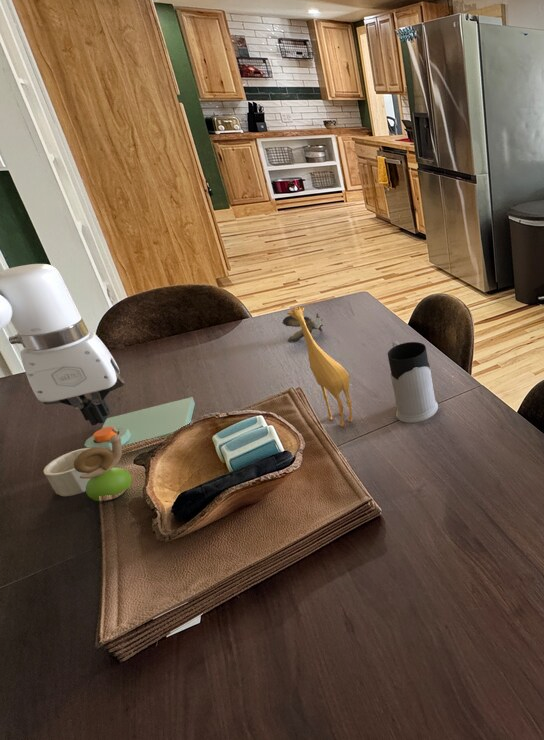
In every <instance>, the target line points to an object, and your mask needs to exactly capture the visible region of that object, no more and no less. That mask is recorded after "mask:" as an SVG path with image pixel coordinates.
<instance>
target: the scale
mask: <svg viewBox="0 0 544 740" xmlns="http://www.w3.org/2000/svg"><path fill="white" fill-rule="evenodd" d="M195 406H196V403H195V400H194V397H193V396H190V397H187V398H182V399H178V400H173V401H170V402H167V403H162V404H158V405H155V406H151V407H147V408H142V409H138V410H134V411H131V412H126V413H123V414H118V415H115V416H111V417H107V418H106V420H105V422H104V423H103V425H102V427H101V429H103V428H106V427H115V428H116V430H118V432H117V433H118V435H120V436H121V437H120V438H121V447H122V446H124V445H128V444H131V443H135V442H139V441H142V440H146V439H152V438H159V437H165V436H167V435H169V434H171V433H173V432H174V431H176V430H178V429H180V428H181V427H183V426H185V425H187V424H189V423H190V422H191V423H192V419H193V413H194V409H195ZM191 423H190V424H191ZM84 442H85V443H83V445H84V448H94V447H106V448H108V449H110V450H112V444H111V443H110V441H106V442H102V443H97V442H96V441H95V439H94V437H93V435H91V436H90V437H89V438H87V439H86V440H85V441H84Z"/></svg>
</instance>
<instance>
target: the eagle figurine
mask: <svg viewBox="0 0 544 740" xmlns="http://www.w3.org/2000/svg"><path fill="white" fill-rule="evenodd" d="M303 317H304V320H305V323H306V326H307V328H308V330H309V332H310V334H312V333H313V330H319V331H320V332H323V328H322V327H324V325H323V324H322V321H323V320H324V319H323V318H322V319H321V318H320V315H319V312H317V313H316V317H315V318H314V320H313V321H312V318H310V317H308V316H303ZM281 323H282V325H285V327H292V328H293V327H295V328H299V327H300V328H301V326H300V324H299V322H298V320H297V319H295V318H294V317H292V316H290V315H288V316H286V317H285V316H284V318H283V319H282V322H281ZM302 338H305V337H304V334H303V331H302V329H300V330H298V331H296V332H295V333H294V334H292V335H290V336H289V338H287V340H286V341H287V342H289V343H296V342H298V341H300V340H301V339H302Z"/></svg>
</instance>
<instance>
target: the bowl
mask: <svg viewBox="0 0 544 740" xmlns="http://www.w3.org/2000/svg"><path fill="white" fill-rule="evenodd" d="M87 449H90V448H85V447H84V448H80V449H76V450H72V451H70V452H67V453H65V454H62V455H60V456H58V457H56V458H55V459H53V460H51V461H50V462H49V463H47V465H46V466H45V467H44V469H43V470H42V472H43V474H44V476H45V477H46V479H47V480H48V482H49V484H50V486H51V488H52V490H53V491H54V493H55V494H56V495H59V496H60V497H72V496H76V495H79V494H82V493H86V485H87V483H88V481H89V479H84V478H80V476H81V475H84V474H86V473H81V472H78V471H76V470H75V468H74V461H75V459H76V458H77V456H78V455H79V454H81V453H82V452H84V451H85V450H87Z"/></svg>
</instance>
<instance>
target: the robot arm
mask: <svg viewBox="0 0 544 740" xmlns="http://www.w3.org/2000/svg"><path fill="white" fill-rule="evenodd" d="M10 322H11V323H12V325H13V327H14V329H15V331H16V332H17V333H16V334H15V335H12V336H9V337H8V342H9V344H10V345H17V344H18V345H20V344H21V345H22V347H23V348H22V350H20V353H19V354H20V359H21V364H22V366H23V369H24V373H25V375H26V378H27V381H28V383H29V386H30V388H31V390H32V392H33V394H34V396H35V397H36V399H37V400H38V401H39V402H42V404H43V405H56V404H57V405H58V404H64V405H67V406H72V407H73V408H74V409H75V410H79V411H80V413H81V415H82V416H83V418H84V420H85V421H89V423H90V425H91V426H92V427H93V426H96V425H98V424H101V425H102V424H104V423H105V421H106V419H107V418H108V416H110V413H111V410H110V408H109V406H108V404H107V402H106V400H105V398H106V397H107V396H108V394H110V392H112V391H116V390H118V389H120V388H123V387H124V386H125V384H126V380H125V378H123V377H122V375H120V374H121V370H120V368H119V366H118V364H117V362H116V360H115V358H114V357H113V355H112V353H111V352H110V350H109V349H108V347H107V346H106V345H105V343H104V342H103V341H102V340H101V338H100V337H98V335H97V334H96V333H95V332H94V331H89V330H88V327H87V326H86V323H85V322H84V320H83V318H82V316H81V313H80V311H79V309H78V307H77V305H76V303H75V301H74V299H73V297H72V296H71V293H70V291H69V289H68V287H67V285H66V283H65V280H64V278H63V276H62V274H61V273H60V271H59V270H58V269H57V268H56V267H55V266H53V265H51V264H47V263H31V264H24V265H23V264H22V265H19V266H18V265H17V266H13V267H10V268H6V269H3V270H0V331H2V330H3V329H4V328H5V327H6V326H8V325H9V323H10ZM88 394H89V395H90V398H89V397H88V396H87V395H88Z"/></svg>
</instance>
